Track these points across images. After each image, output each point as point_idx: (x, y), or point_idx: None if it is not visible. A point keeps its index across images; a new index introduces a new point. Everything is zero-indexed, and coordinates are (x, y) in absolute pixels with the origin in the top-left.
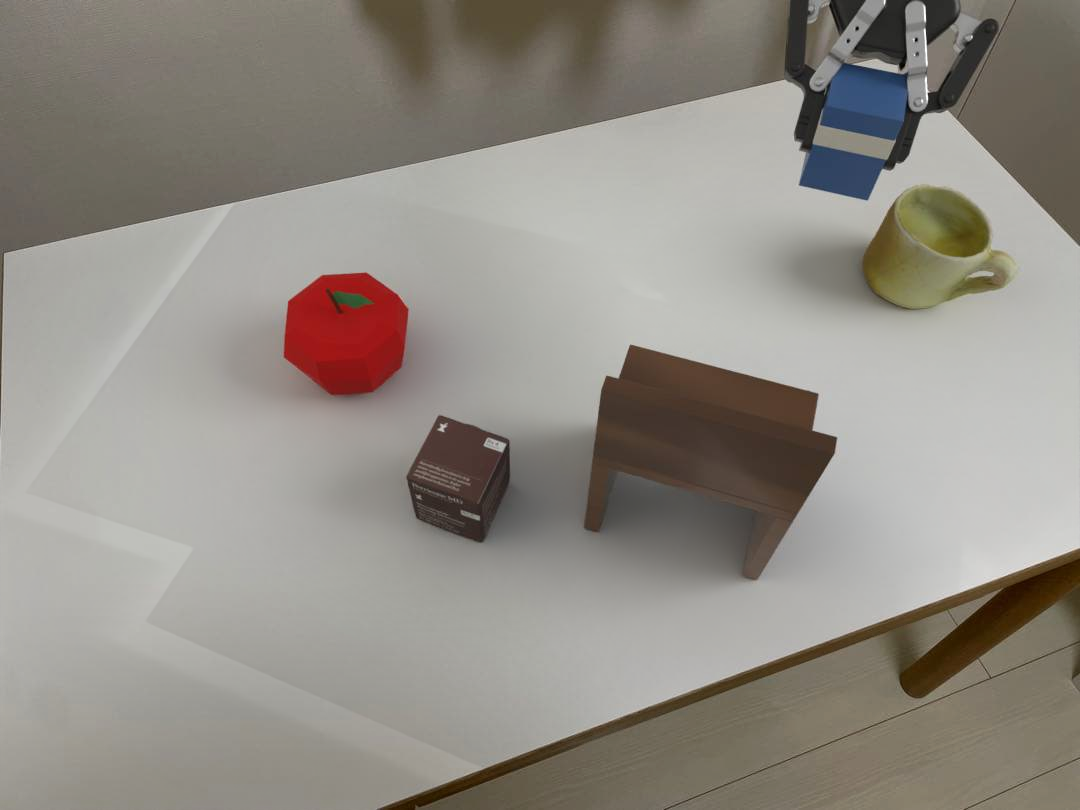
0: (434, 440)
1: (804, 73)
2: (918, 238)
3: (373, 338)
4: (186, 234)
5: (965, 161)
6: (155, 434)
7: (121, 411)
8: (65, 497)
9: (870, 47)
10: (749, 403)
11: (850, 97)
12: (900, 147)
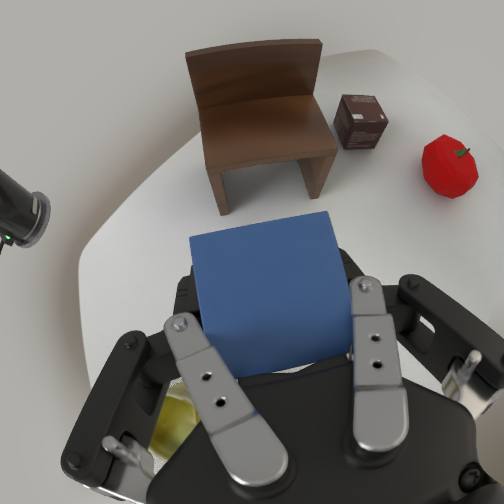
0: (379, 110)
1: (394, 296)
2: (189, 422)
3: (440, 149)
4: None
5: None
6: (451, 127)
7: (464, 132)
8: (445, 104)
9: (319, 371)
10: (247, 142)
11: (299, 251)
12: (190, 277)
